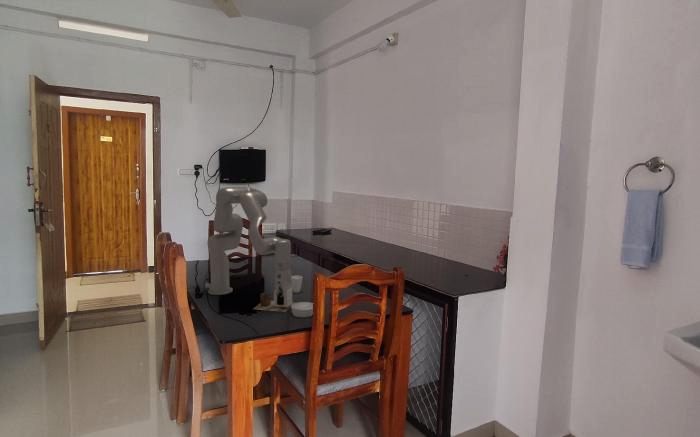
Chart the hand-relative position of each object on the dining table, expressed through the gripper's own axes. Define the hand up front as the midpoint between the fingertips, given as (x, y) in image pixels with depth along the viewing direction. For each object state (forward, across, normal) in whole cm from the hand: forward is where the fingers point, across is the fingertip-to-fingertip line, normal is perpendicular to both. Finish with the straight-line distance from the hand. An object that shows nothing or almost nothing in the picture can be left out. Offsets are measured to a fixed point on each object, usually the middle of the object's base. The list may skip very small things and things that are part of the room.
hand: (283, 302), depth 204 cm
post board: (+4, 0, +4) cm, 6 cm away
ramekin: (+4, -7, -13) cm, 15 cm away
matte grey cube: (+1, 0, 0) cm, 1 cm away
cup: (+4, +29, +5) cm, 30 cm away
